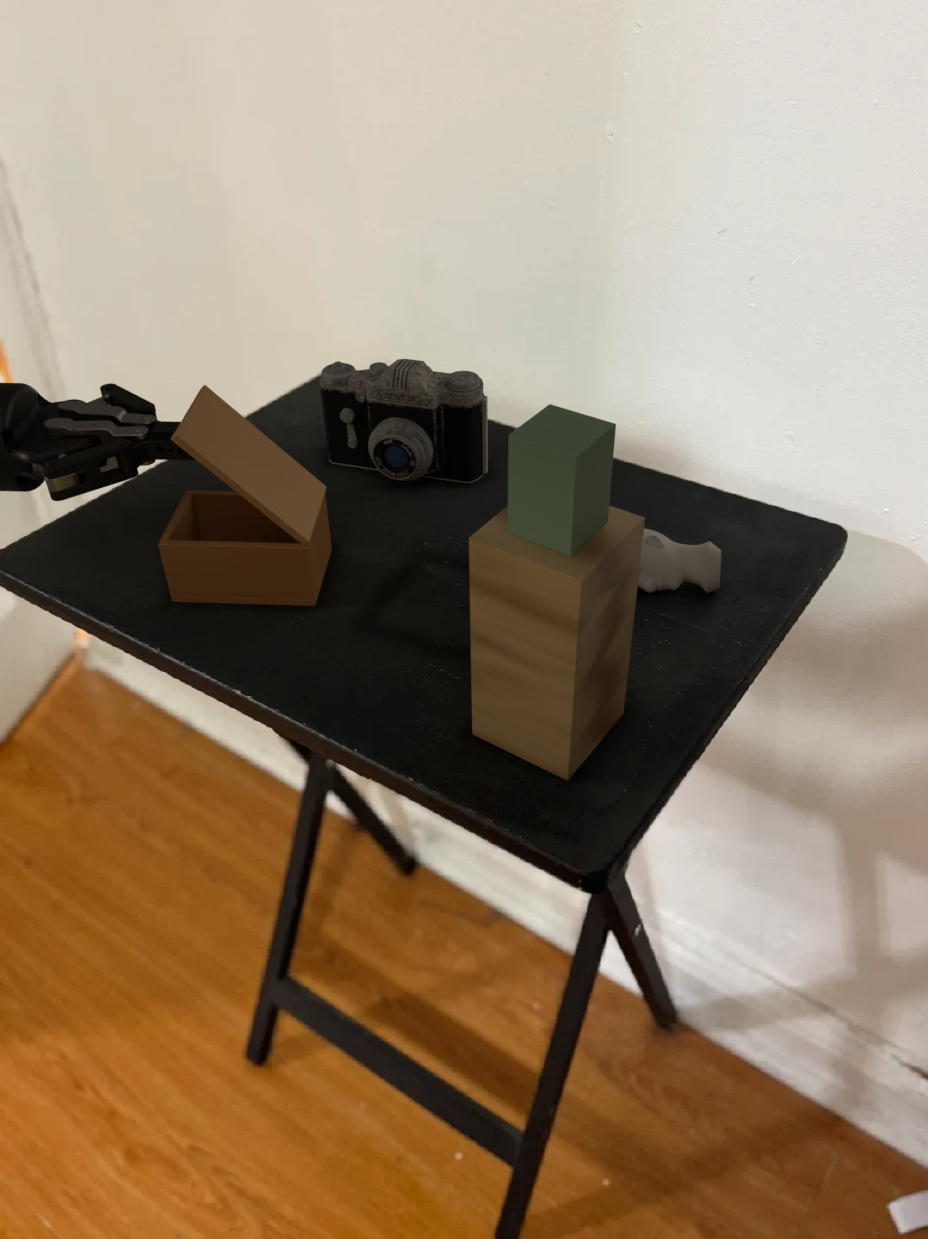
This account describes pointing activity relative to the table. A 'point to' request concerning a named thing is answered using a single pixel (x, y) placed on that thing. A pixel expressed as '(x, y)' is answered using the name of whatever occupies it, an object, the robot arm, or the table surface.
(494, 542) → the post
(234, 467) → the case lid
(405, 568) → the table surface
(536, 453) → the block
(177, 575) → the case
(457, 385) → the camera
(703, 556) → the pale two-lobed sculpture
